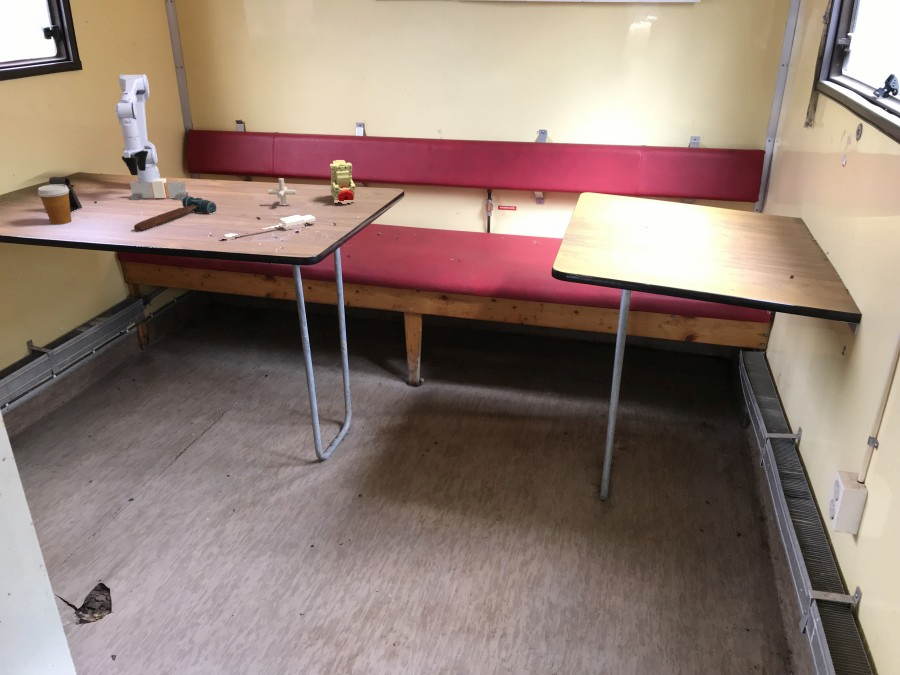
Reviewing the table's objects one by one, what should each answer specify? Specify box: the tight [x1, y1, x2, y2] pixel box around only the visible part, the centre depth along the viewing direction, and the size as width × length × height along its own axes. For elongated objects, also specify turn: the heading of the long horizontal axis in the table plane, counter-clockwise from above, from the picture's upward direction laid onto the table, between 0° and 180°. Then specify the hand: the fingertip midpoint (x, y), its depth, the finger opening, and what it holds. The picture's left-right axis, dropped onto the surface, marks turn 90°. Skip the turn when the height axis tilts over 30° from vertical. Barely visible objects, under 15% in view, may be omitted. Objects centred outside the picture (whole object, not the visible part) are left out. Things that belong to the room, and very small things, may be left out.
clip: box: [152, 177, 168, 198], centre depth 262 cm, size 5×4×6 cm
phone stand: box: [48, 176, 83, 213], centre depth 245 cm, size 9×6×12 cm, turn 170°
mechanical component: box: [329, 159, 356, 201], centre depth 258 cm, size 8×17×20 cm, turn 19°
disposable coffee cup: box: [37, 184, 72, 225], centre depth 233 cm, size 10×10×12 cm
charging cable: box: [223, 214, 316, 237], centre depth 226 cm, size 5×32×3 cm, turn 126°
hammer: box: [133, 195, 217, 232], centre depth 238 cm, size 14×5×30 cm
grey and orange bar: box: [129, 181, 189, 201], centre depth 263 cm, size 6×20×6 cm, turn 90°
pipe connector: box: [267, 177, 297, 205], centre depth 253 cm, size 10×10×10 cm
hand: (138, 172), depth 261 cm, fingers open, 7 cm apart
